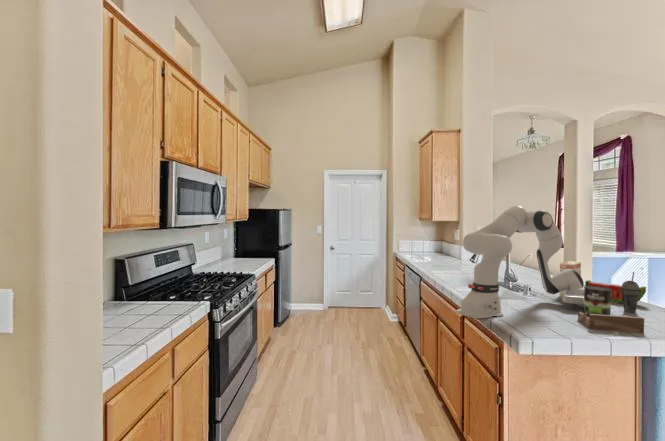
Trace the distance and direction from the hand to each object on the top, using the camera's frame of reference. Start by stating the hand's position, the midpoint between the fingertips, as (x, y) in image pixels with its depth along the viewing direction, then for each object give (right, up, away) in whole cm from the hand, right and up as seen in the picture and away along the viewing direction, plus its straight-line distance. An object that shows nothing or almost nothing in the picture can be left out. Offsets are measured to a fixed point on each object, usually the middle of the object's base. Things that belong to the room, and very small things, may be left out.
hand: (591, 303), depth 177 cm
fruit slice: (+31, -5, +26) cm, 41 cm away
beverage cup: (+22, -5, +5) cm, 24 cm away
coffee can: (-1, -6, -5) cm, 8 cm away
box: (-5, -6, -17) cm, 18 cm away
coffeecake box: (+17, -5, +42) cm, 46 cm away
